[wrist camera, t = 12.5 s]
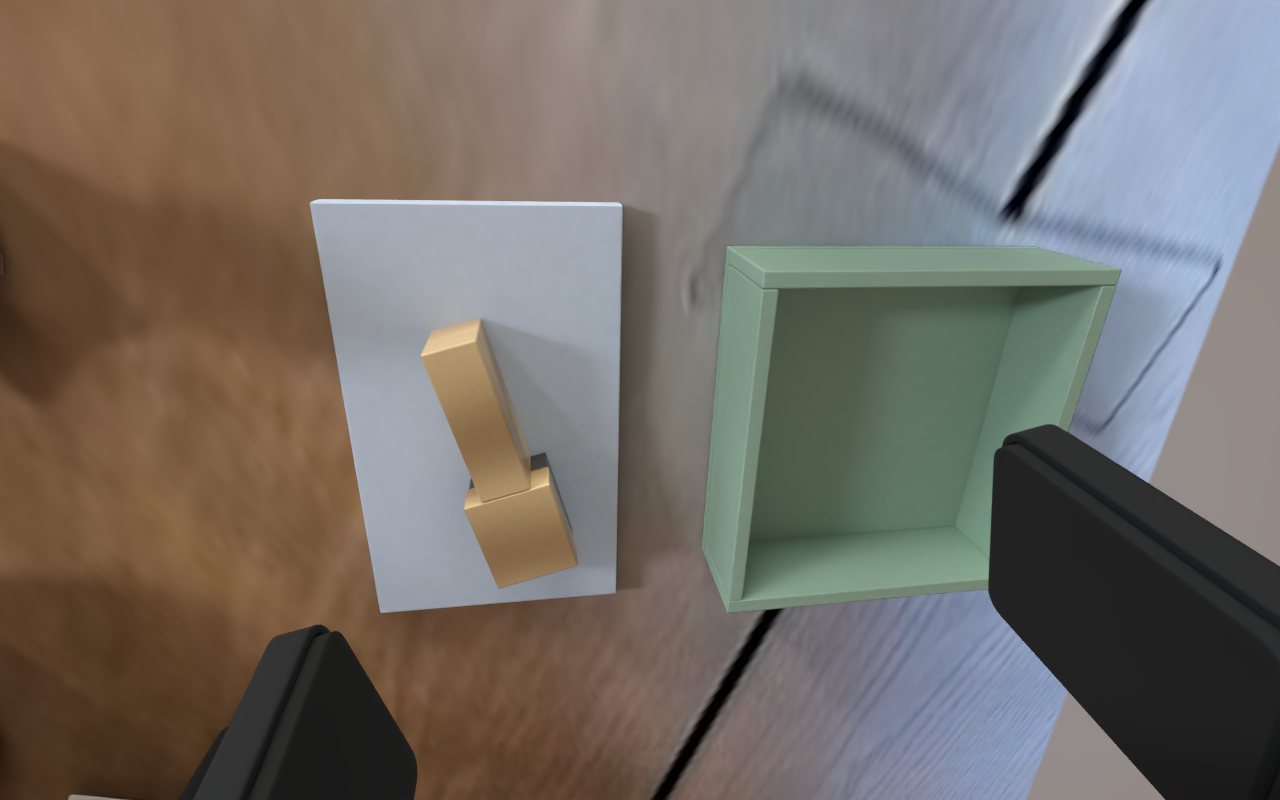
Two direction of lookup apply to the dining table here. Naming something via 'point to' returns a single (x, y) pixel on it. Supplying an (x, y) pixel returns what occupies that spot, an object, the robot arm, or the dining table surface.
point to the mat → (527, 358)
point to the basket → (881, 410)
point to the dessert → (93, 797)
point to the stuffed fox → (1, 264)
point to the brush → (498, 461)
